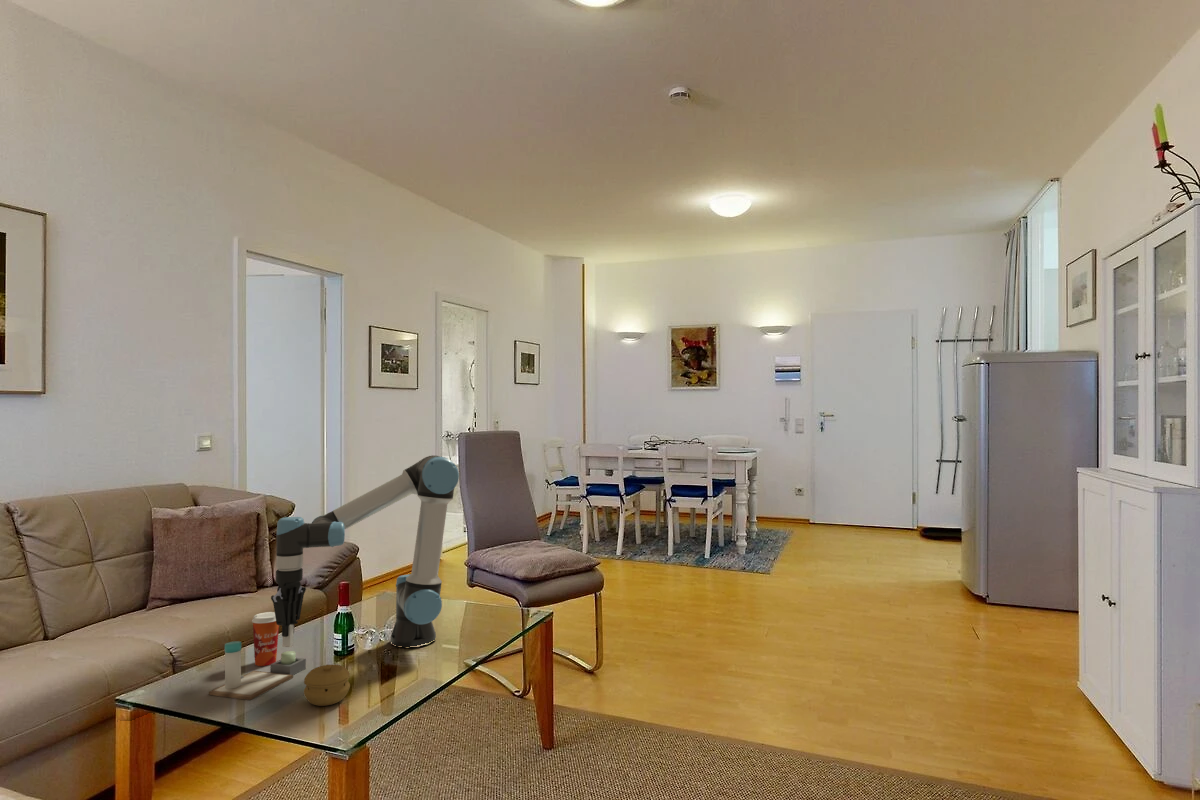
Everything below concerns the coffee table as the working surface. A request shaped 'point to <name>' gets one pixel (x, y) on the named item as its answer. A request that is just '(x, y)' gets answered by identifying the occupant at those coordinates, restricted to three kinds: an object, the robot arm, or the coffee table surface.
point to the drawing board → (252, 685)
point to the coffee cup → (265, 638)
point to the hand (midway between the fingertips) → (287, 646)
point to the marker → (232, 665)
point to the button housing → (288, 667)
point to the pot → (326, 685)
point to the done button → (288, 657)
